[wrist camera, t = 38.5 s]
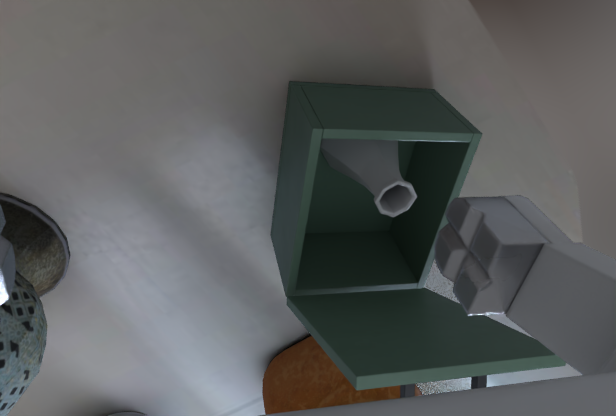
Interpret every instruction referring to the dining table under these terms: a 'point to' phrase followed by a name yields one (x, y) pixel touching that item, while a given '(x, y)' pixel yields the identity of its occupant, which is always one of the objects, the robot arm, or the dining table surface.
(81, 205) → the dining table surface
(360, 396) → the bread
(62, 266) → the lantern
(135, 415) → the bowl
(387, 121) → the chest
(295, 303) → the chest lid
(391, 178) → the flask
